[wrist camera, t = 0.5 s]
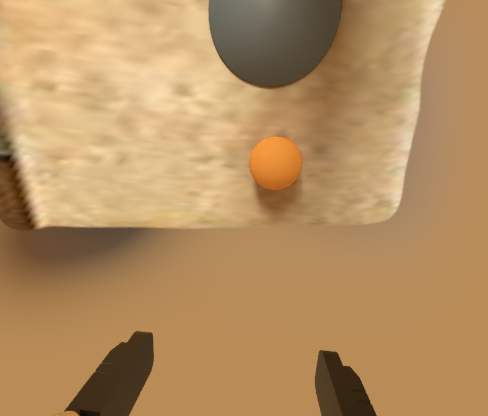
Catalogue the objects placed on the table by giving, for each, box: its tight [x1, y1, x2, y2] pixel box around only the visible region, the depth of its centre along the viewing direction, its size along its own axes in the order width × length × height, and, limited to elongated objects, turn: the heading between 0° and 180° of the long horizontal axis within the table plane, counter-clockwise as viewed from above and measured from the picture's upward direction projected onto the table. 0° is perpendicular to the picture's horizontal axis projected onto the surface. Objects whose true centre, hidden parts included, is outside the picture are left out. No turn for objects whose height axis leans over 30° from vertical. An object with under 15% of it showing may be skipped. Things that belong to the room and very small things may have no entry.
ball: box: [249, 137, 302, 190], centre depth 27 cm, size 6×6×6 cm
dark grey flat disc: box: [209, 0, 342, 86], centre depth 25 cm, size 14×14×1 cm
